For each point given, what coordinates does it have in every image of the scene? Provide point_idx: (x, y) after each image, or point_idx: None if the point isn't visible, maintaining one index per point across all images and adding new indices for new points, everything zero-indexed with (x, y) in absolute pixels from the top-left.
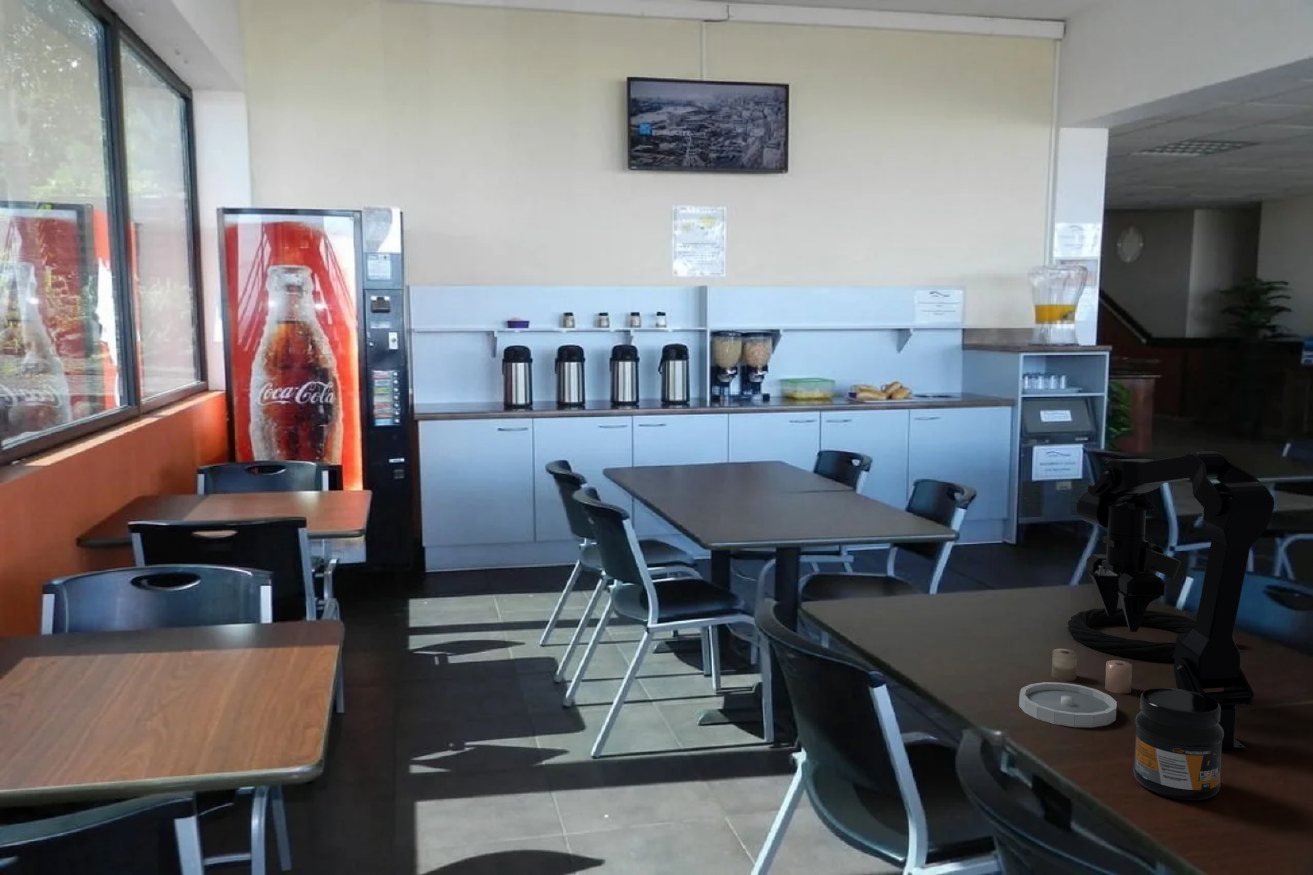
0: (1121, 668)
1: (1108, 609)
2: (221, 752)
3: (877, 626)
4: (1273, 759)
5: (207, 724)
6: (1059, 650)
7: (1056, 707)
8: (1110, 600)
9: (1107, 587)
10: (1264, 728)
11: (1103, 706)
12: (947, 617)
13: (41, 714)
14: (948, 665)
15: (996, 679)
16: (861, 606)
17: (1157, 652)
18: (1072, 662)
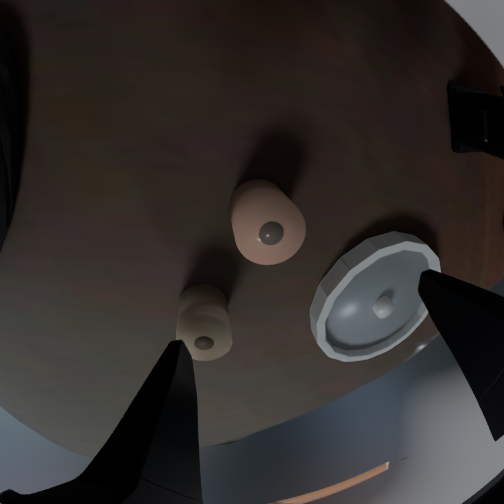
0: (304, 230)
1: (193, 386)
2: (373, 471)
3: (105, 442)
4: (488, 72)
5: (352, 481)
6: (193, 351)
7: (391, 315)
8: (184, 423)
9: (184, 495)
10: (409, 5)
11: (393, 255)
12: (23, 394)
13: (342, 489)
14: (211, 414)
15: (253, 379)
16: (56, 438)
17: (10, 110)
18: (226, 319)
